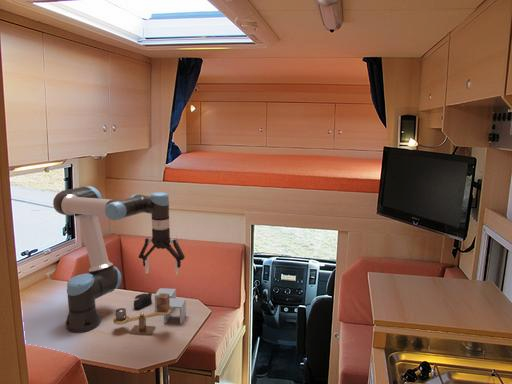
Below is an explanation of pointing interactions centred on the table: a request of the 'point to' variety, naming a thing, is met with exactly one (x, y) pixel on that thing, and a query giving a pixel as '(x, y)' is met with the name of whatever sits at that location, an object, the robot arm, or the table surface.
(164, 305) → the block
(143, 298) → the rock
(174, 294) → the cover
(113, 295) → the table surface
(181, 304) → the cover
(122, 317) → the balance
